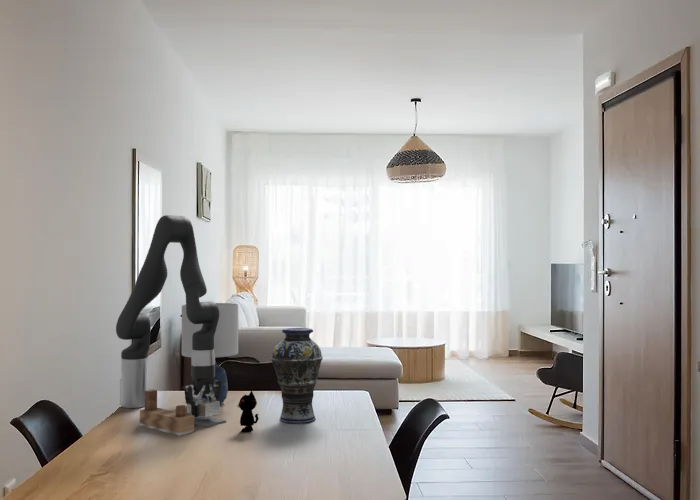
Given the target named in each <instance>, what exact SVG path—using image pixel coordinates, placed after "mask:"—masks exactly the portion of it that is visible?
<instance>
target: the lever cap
mask: <svg viewBox="0 0 700 500" xmlns="http://www.w3.org/2000/svg"><path fill="white" fill-rule="evenodd" d="M195 400H196V399H195ZM220 407H221V404H220V401H214V400H209V399H204V398H201V399H200V400H199V402H198V416H202V417H213V416H217V415H220V413H221V410H220V409H221V408H220ZM186 409H187V410H186V414H188V415H192V414H191V405H190V404H186Z"/></svg>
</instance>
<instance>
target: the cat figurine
mask: <svg viewBox="0 0 700 500" xmlns="http://www.w3.org/2000/svg"><path fill="white" fill-rule="evenodd" d="M257 404H258V402H257V399H256V397H255V395H254V392H253V390H252V389H251V390H250V393H249V394H245V393H244V395H242V396H241V398H239V401H238V405H237V406H236V407H238V409H240V410H241V411H242V412H241V415H240V420H239V424H240V427H242V426H243V428H242V429H241V430H240V434H241V433H242V434H246V433H252V431H254V429H253V426H255V424H257V423H258V421H259V415H260V414H259V413H255V415H254V414H253V410H254V409H256V406H257Z"/></svg>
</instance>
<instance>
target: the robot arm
mask: <svg viewBox="0 0 700 500" xmlns="http://www.w3.org/2000/svg"><path fill="white" fill-rule="evenodd" d="M170 243H173V244H174V243H175V244H176V243H179V244H180V247H181V249H182V251H183V257H182V262H181V267H180V271H179V276H180V282H181V284H182V287H183V290H184V294H185V304H186V314H187V317H188V319H189V321H190V322H191V323H193V324H203V326H202V328H201V330H199V331H197V332H195V333H193V336H192V357H190V358H191V363H190V365H191V366H190V367H191V373H190V375H191V379H192V381H191V382H192V383H191V384H189V385H184V386H183V389H184V399H185V404H186V405H187V404H190V405H191V414H190V415H193V416H194V417H198V402H199V400H200V399H201V397H202V395H206V396H207V398H208V399H209V400H214V401H216V400H217V399H220V394H221V384H222V382H221V381H219V380H215V381H214V377H215V361H216V358H215V353H214V336H215V332H216V328H217V324H218V320H219V308H218V306H217V304H216V303H217V302H214V301H200V298H203V297H204V296H205V295H206V294H207V292H208V291H207V286H206V283H205V280H204V276H203V273H202V271H201V267H200V262H199V257H198V250H197V244H196V238H195V232H194V227H193V224H192V222H191V219H189V217H187V216H184V215H175V214H174V215H172V214H171V215H170V214H167V215H166V214H165V215H162V216H161V217H160V218H159V219H158V220H157V223H156V225H155V229H154V232H153V234H152V238H151V243H150V245H149V249H148V251H147V254H146V256H145V260H144V262H143V264H142V267H141V269H140V270H139V273H138V275H137V278H136V280H135V281H136V282H135V283H134V287H133V289H132V290H131V293H130V295H129V297H128V300H127V302H126V304H125V305H124V307H123V308H122V311H120V312H121V313H120V314H119V316H118V319H117V321H116V326H115V333H116V335H117V337H118V339H120V340H124V341H127V340H132V343H131V344H130V345H129V346H127V347H125V348H124V349H122V350H121V354H120V363H121V365H120V366H121V367H120V370H121V371H120V379H119V406H121V408H126V409H136V408H143V407H144V408H145V391H147V390H149V351H150V346H151V344H150V343H151V320H150V317H149V316H148V314H146V313H144V312H142V311H143V310H144V308H146V307H147V306H148V305H149V304H150V303H152V301H153V300H155V299H156V298H157V297H158V295H160V293H161V292H162V290H163V288H164V286H165V284H166V281H167V278H168V268H167V264H166V260H165V259H166V258H165V254H166V251H167V248H168V246H169V245H170ZM213 386H214V387H213ZM193 389H194V390H193ZM192 391H193V393H192ZM196 394H197V395H196ZM216 394H217V395H216ZM195 399H196V400H195Z"/></svg>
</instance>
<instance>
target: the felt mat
mask: <svg viewBox="0 0 700 500" xmlns="http://www.w3.org/2000/svg"><path fill="white" fill-rule="evenodd" d="M226 422H227V420H226V419H221V418H218V417H213V416H208V417H202V416H198V417H194V426H196V427H201V428H208V427H211V426H212V427H213V426H216V425H220V424H224V423H226Z"/></svg>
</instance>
